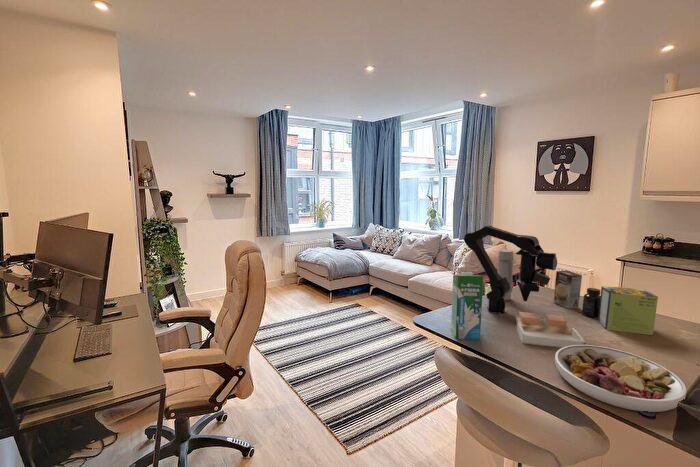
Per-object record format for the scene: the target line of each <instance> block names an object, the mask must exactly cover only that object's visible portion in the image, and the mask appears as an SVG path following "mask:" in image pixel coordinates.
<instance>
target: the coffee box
mask: <svg viewBox="0 0 700 467" xmlns="http://www.w3.org/2000/svg"><path fill="white" fill-rule="evenodd" d="M582 280H583V274H579V273H577V272H572V271H570V270H568V269H567V270H558V271H556V273H555V283H554V284H555V285H554V291H553V292H554V293H553V303H554V304H556V305H558V306H560V307H563V308H564V309H565V308H566V309H568V310H572V309H579V306H580V305H579V304H580V297H581V290H582V288H581V287H582Z"/></svg>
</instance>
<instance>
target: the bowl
mask: <svg viewBox="0 0 700 467" xmlns="http://www.w3.org/2000/svg"><path fill="white" fill-rule="evenodd" d="M554 363H555V366H556V369H557V370H558V373H559V374H560V375H561V376H562V378H563V379H564V380H565V381H566V382H568V384H570V386H572V387H573V388H575V389H576V390H578V391H580V392H582V393H583V394H585V395H587V396H588V397H591V398H593V399H595V400H597V401H600V402H603V403H605V404H609V405H610V406H614V407H618V408H621V409H626V410H630V411H636V412H643V411H648V412H647V413H658V412H667V411H671V410H673V409H676V408H677V407H678V406H677V404H678V402H679V401H681V400H683V399H684V400H686V395H687V387H686V384H685V383H684V381H682V380H681V378H680V377H679V376H678V375H676V374H675V373H673V372H672V371H671V370H669V369H667V368H666V367H664V366H662V365H660V364H659V363H656V362H654V361H652V360H649V359H648V358H644V357H642V356H639V355H637V354H634V353H631V352H628V351H624V350H620V349H616V348H612V347H606V346H600V345H591V344H586V345H571V346H566V347H563V348H558V350H557V351H556V352H555V358H554Z"/></svg>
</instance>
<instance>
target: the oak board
mask: <svg viewBox="0 0 700 467" xmlns="http://www.w3.org/2000/svg"><path fill="white" fill-rule="evenodd" d="M515 322H516V323H515V324H517V322H518V323H521V321H520V319H519V315H517V316H515ZM521 326H522V328H523V330H530V331H539V332H549V333H558V334H567V335H571V331H572V329H571V328H570V327H569V326H568V324H566V328H565V327H556V326H549V325H548V323H547V322H546V320H545V318H538V325H537V324H527V323H521Z"/></svg>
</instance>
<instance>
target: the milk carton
mask: <svg viewBox="0 0 700 467" xmlns="http://www.w3.org/2000/svg"><path fill="white" fill-rule="evenodd" d="M483 288H484V275H479V274H478V275H477V274H475V275H473V272H471V271H462V272H461V274H453V275H452V295H451V296H452V298H451V300H452V301H451V320H450V324H451V325H450V329H451V331H452V334H453V337H454V338H455V340H472V341H473V340H475V341H480V340H481V329H482V328H481V326H482V310H483V309H482V306H483Z"/></svg>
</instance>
